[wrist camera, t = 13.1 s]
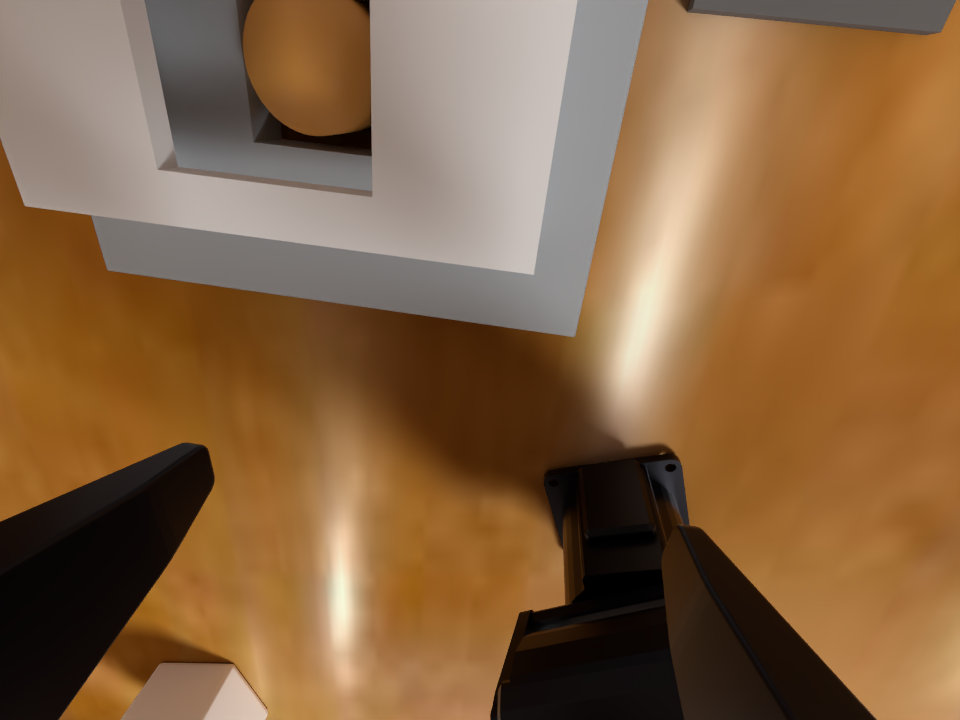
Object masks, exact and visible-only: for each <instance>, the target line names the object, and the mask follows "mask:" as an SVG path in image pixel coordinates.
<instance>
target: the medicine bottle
mask: <svg viewBox="0 0 960 720" xmlns="http://www.w3.org/2000/svg"><path fill="white" fill-rule="evenodd" d="M267 714H268V711H267V708H266V707H265V706H264V704H263V703H262V702H261V700H260V699H259V698H258V696H257V695H256V694H255V692H254V691H253V689H252V688H251V687H250V685H249V684H248V683H247V681H246V680H245V679H244V677H243V676H242V675H241V673H240V672H239V671H238V669H237V668H236V666H235V665H234V664H221V663H161V664H159V665H158V667H157V668H156V669H155V671H154V672H153V674H152V675H151V677H150V678H149V679H148V681H147V682H146V684H145V685H144V687H143V688H142V690H141V691H140V692H139V694H138V695H137V697H136V698H135V700H134V701H133V702H132V704H131V705H130V707H129V708H128V710H127V711H126V712H125V714H124V715H123V717H122V718H121V720H265V719H266V717H267Z"/></svg>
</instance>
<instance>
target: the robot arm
mask: <svg viewBox="0 0 960 720" xmlns="http://www.w3.org/2000/svg"><path fill="white" fill-rule="evenodd" d="M668 464H673V465H672V466H666V465H668ZM214 479H215V477H214V472H213V467H212V463H211V459H210V455H209V451H208V449H207V448H206V447H205V446H203V445H199V444H193V443H181V444H178V445H176V446H174V447H171V448H169V449H167V450H165V451H162V452H160V453H158V454H155V455H153V456H151V457H148V458H146V459H144V460H142V461H139V462H137V463H135V464H132V465H130V466H128V467H125V468H123V469H121V470H119V471H116V472H114V473H112V474H109V475H107V476H105V477H102V478H100V479H98V480H95V481H93V482H91V483H89V484H86V485H84V486H82V487H79V488H77V489H75V490H72V491H70V492H68V493H66V494H63V495H61V496H59V497H56V498H54V499H52V500H49V501H47V502H45V503H42V504H40V505H38V506H36V507H33V508H31V509H29V510H26V511H24V512H22V513H19V514H17V515H15V516H12V517H10V518H8V519H6V520H3V521H1V522H0V720H59V719H60V717H61V716H62V714H63V713H64V711H65V710H66V709H67V707H68V706H69V704H70V703H71V702H72V700H73V699H74V697H75V696H76V694H77V693H78V692H79V690H80V689H81V687H82V686H83V685H84V683H85V682H86V680H87V679H88V677H89V676H90V675H91V673H92V672H93V670H94V669H95V668H96V666H97V665H98V663H99V662H100V660H101V659H102V658H103V656H104V655H105V653H106V652H107V651H108V649H109V648H110V646H111V645H112V644H113V642H114V641H115V639H116V638H117V636H118V635H119V634H120V632H121V631H122V629H123V628H124V627H125V625H126V624H127V622H128V621H129V619H130V618H131V617H132V615H133V614H134V612H135V611H136V610H137V608H138V607H139V605H140V604H141V602H142V601H143V600H144V598H145V597H146V595H147V594H148V593H149V591H150V590H151V588H152V587H153V585H154V584H155V583H156V581H157V580H158V578H159V577H160V576H161V574H162V573H163V571H164V570H165V568H166V567H167V565H168V564H169V562H170V561H171V559H172V558H173V556H174V554H175V553H176V551H177V549H178V548H179V546H180V544H181V543H182V541H183V539H184V537H185V536H186V534H187V532H188V530H189V529H190V527H191V525H192V523H193V522H194V520H195V518H196V516H197V515H198V513H199V511H200V509H201V508H202V506H203V504H204V502H205V501H206V499H207V497H208V495H209V494H210V492H211V490H212V488H213V485H214ZM551 479H556V480H557V481H551ZM544 486H545V489H546V493H547V496H548V499H549V503H550V506H551V509H552V513H553V516H554V520H555V523H556V526H557V530H558V533H559V536H560V540H561V543H562V547H563V554H564V582H565V605H562V606H558V607H553V608H549V609H544V610H540V611H535V612H534V611H533V610H529V611H524V612H520V613H519V616H518V620H517V623H516V626H515V629H514V633H513V636H512V639H511V642H510V646H509V649H508V652H507V655H506V659H505V662H504V665H503V668H502V672H501V675H500V678H499V681H498V685H497V688H496V691H495V696H494V701H493V706H492V710H491V715H490V718H491V720H877V719H876V718H875V717H874V716H873V715H872V714H871V713H870V712H869V711H868V709H867V708H866V707H865V706H864V705H863V704H862V703H861V702H860V701H859V700H858V699H857V697H856V696H855V695H854V694H853V693H852V692H851V691H850V690H849V689H848V688H847V687H846V686H845V684H844V683H843V682H842V681H841V680H840V679H839V678H838V677H837V676H836V675H835V674H834V672H833V671H832V670H831V669H830V668H829V667H828V666H827V665H826V664H825V663H824V662H823V660H822V659H821V658H820V657H819V656H818V655H817V654H816V653H815V652H814V651H813V650H812V648H811V647H810V646H809V645H808V644H807V643H806V642H805V641H804V640H803V639H802V638H801V636H800V635H799V634H798V633H797V632H796V631H795V630H794V629H793V628H792V627H791V626H790V624H789V623H788V622H787V621H786V620H785V619H784V618H783V617H782V616H781V615H780V614H779V612H778V611H777V610H776V609H775V608H774V607H773V606H772V605H771V604H770V603H769V602H768V600H767V599H766V598H765V597H764V596H763V595H762V594H761V593H760V592H759V591H758V590H757V588H756V587H755V586H754V585H753V584H752V583H751V582H750V581H749V580H748V579H747V578H746V576H745V575H744V574H743V573H742V572H741V571H740V570H739V569H738V568H737V567H736V566H735V564H734V563H733V562H732V561H731V560H730V559H729V558H728V557H727V556H726V555H725V554H724V552H723V551H722V550H721V549H720V548H719V547H718V546H717V545H716V544H715V543H714V542H713V540H712V539H711V538H710V537H709V536H708V535H707V534H706V533H705V532H704V531H703V530H702V529H701V528H699V527H695V526H689V518H688V510H687V503H686V495H685V487H684V479H683V471H682V465H681V463H680V460H679V458H678V457H677V456H676V455H673V454H664V455H657V456H650V457H642V458H635V459H628V460H620V461H613V462H605V463H598V464H591V465H583V466H576V467H568V468H561V469H554V470H549V471H547V472H546V473H545V475H544Z"/></svg>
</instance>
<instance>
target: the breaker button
mask: <svg viewBox="0 0 960 720" xmlns="http://www.w3.org/2000/svg"><path fill="white" fill-rule="evenodd" d="M243 53H244V60H245V65H246V69H247V72H248V76H249V78H250V81H251V83H252V86H253V88H254V90H255V91H256V93H257V95H258V97H259V98H260V100H261V101H262V103H263V104H264V105H265V107H266V108H267V109H268V110H269V111H270V112H271V113H272V115H273V116H274V117H276V118H277V119H278V120H279V121H280V122H282V123H283V124H284V125H286V126H288V127H289V128H291V129H293V130H295V131H297V132H300V133H303V134H306V135H311V136H327V135H335V134H343V133H351V132H358V131H362V130H365V129H367V128H369V127H371V52H370V10H369V9H368V8H367V7H366V6H364V5H363V4H361V3H360V2H358V1H356V0H254V2H253V3H252V5H251V7H250V9H249V12H248V14H247V17H246V21H245V25H244V32H243Z"/></svg>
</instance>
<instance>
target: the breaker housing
mask: <svg viewBox="0 0 960 720" xmlns="http://www.w3.org/2000/svg"><path fill="white" fill-rule="evenodd" d="M253 2H254V0H0V139H1V142H2V144H3V147H4V150H5V153H6V155H7V158H8V161H9V164H10V166H11V169H12V172H13V175H14V177H15V180H16V183H17V186H18V188H19V191H20V194H21V197H22V199H23V202H24V205H25V206H28V207H35V208H43V209H50V210H57V211H65V212H72V213H80V214H87V215H91V217H92V220H93V224H94V227H95V230H96V234H97V237H98V240H99V244H100V247H101V250H102V254H103V257H104V260H105V264H106V267H107V270H108V271H115V272H122V273H129V274H136V275H143V276H150V277H157V278H164V279H171V280H178V281H185V282H192V283H199V284H206V285H213V286H220V287H227V288H234V289H241V290H248V291H255V292H262V293H269V294H276V295H283V296H290V297H297V298H304V299H311V300H318V301H325V302H332V303H339V304H346V305H353V306H360V307H367V308H374V309H381V310H388V311H395V312H402V313H409V314H416V315H423V316H430V317H437V318H444V319H451V320H458V321H465V322H472V323H479V324H486V325H493V326H500V327H507V328H514V329H521V330H528V331H535V332H542V333H549V334H556V335H563V336H570V337H575V334H576V329H577V325H578V320H579V315H580V311H581V306H582V302H583V297H584V293H585V288H586V283H587V279H588V274H589V270H590V265H591V261H592V256H593V251H594V247H595V242H596V238H597V233H598V228H599V224H600V219H601V215H602V210H603V206H604V201H605V196H606V192H607V187H608V183H609V178H610V174H611V169H612V164H613V160H614V155H615V151H616V146H617V141H618V137H619V132H620V128H621V123H622V119H623V114H624V109H625V105H626V100H627V96H628V91H629V87H630V82H631V77H632V73H633V68H634V64H635V59H636V54H637V50H638V45H639V41H640V36H641V32H642V27H643V22H644V18H645V13H646V9H647V4H648V0H370V52H371V126H372V150H371V149H362V148H354V147H346V146H338V145H329V144H321V143H313V142H304V141H296V140H288V139H283V138H282V127H281V122H280V121H279V120H278V119H277V118H276V117H274V116H273V115H272V113H271V112H270V111H269V110H268V109H267V108H266V107H265V105H264V104H263V103H262V101H261V100H260V98H259V97H258V95H257V93H256V91H255V90H254V88H253V86H252V83H251V81H250V78H249V76H248V72H247V69H246V65H245V60H244V53H243V32H244V25H245V21H246V17H247V14H248V12H249V9H250V7H251V5H252V3H253Z"/></svg>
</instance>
